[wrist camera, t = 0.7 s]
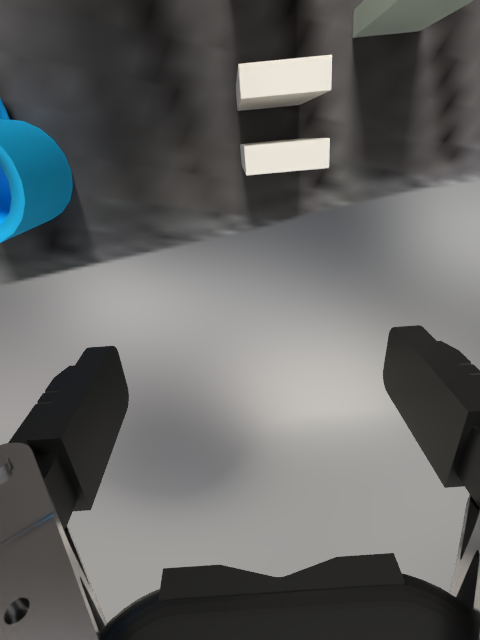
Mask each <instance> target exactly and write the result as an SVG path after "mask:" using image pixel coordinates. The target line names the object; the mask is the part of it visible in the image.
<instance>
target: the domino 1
mask: <svg viewBox="0 0 480 640" xmlns="http://www.w3.org/2000/svg"><path fill="white" fill-rule="evenodd" d="M331 77H332V55H323V56H313V57H303V58H293V59H283V60H273V61H262V62H252V63H242V64H238V72H237V80H236V99H237V111H243V110H253V109H264V108H274V107H284V106H295V105H301V104H303V103H305V102H307V101H309V100H311V99H313V98H315V97H318V96H320V95H322V94H324V93H326V92H328V91H330V90H331Z"/></svg>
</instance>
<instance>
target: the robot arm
mask: <svg viewBox="0 0 480 640" xmlns="http://www.w3.org/2000/svg"><path fill="white" fill-rule="evenodd" d="M383 379H384V385H385V388H386V391H387V393H388V395H389V396H390V398H391V400H392V401H393V403H394V404H395V406H396V408H397V409H398V411H399V413H400V414H401V416H402V417H403V419H404V421H405V422H406V424H407V426H408V428H409V429H410V431H411V432H412V434H413V436H414V437H415V439H416V441H417V442H418V444H419V446H420V447H421V449H422V451H423V452H424V454H425V455H426V457H427V459H428V461H429V462H430V464H431V465H432V467H433V469H434V470H435V472H436V474H437V475H438V477H439V479H440V480H441V482H442V483H443V485H444V487H460V486H465V487H466V489H467V490H468V492H469V493H470V495H469V498H468V501H467V504H466V509H465V515H464V521H463V526H462V532H461V538H460V543H459V549H458V555H457V560H456V566H455V571H454V575H453V580H452V583H451V587H450V590H449V593H448V592H446V591H444V590H443V589H441V588H439V587H437V586H435V585H433V584H431V583H428V582H426V581H424V580H421V579H418V578H415V577H412V576H409V575H406V574H401V571H400V568H399V566H398V563H397V561H396V558H395V556H394V553H390V554H374V555H359V556H346V557H336V558H333V559H330V560H328V561H325V562H322V563H320V564H317V565H315V566H312V567H309V568H307V569H304V570H301V571H298V572H296V573H293V574H291V575H288V576H285V577H272V576H268V575H263V574H259V573H254V572H250V571H245V570H241V569H236V568H232V567H227V566H222V565H211V566H196V567H180V568H167V569H163V574H162V581H161V588H160V589H159V590H156V591H154V592H151V593H149V594H148V595H146V596H144V597H142V598H140V599H138V600H137V601H135V602H133V603H132V604H130V605H129V606H128V607H126V608H124V609H123V610H122V611H121V612H120V613H119V614H117V615H116V616H115V617H114V618H112V619H111V620H110V621H109V622H108V623H107V622H106V620H105V617H104V615H103V612H102V610H101V608H100V606H99V603H98V601H97V598H96V596H95V594H94V591H93V589H92V586H91V583H90V581H89V578H88V576H87V573H86V571H85V568H84V566H83V563H82V561H81V558H80V555H79V553H78V550H77V548H76V545H75V543H74V540H73V537H72V535H71V532H70V530H69V528H68V526H67V524H68V521H69V519H70V516H71V514H72V512H73V511H82V510H91V508H92V505H93V502H94V499H95V497H96V494H97V491H98V488H99V486H100V483H101V480H102V477H103V475H104V472H105V469H106V466H107V464H108V461H109V458H110V455H111V453H112V450H113V447H114V444H115V442H116V439H117V436H118V433H119V430H120V428H121V425H122V422H123V419H124V417H125V414H126V411H127V408H128V401H129V394H128V387H127V383H126V380H125V376H124V372H123V368H122V365H121V361H120V357H119V354H118V351H117V349H116V347H114V346H105V347H91V348H87V349H86V350H85V351H84V352H83V354H82V356H81V357H80V359H79V360H78V362H77V363H76V365H75V366H69V367H67V368H66V369H65V370H64V371H62V372H61V373H60V374H58V375H57V376H56V377H54V379H53V380H52V381H51V383H50V384H49V386H48V387H47V389H46V390H45V393H43V394H42V396H41V397H40V399H39V400H38V404H36V405H35V406H34V407H33V408H32V410H31V411H30V413H29V414H28V416H27V417H26V419H25V420H24V422H23V423H22V424H21V426H20V427H19V428H18V430H17V431H16V433H15V434H14V436H13V437H12V438H11V440H10V441H9V443H7V444H3V445H0V640H480V370H479V369H478V368H477V367H475V366H474V365H471V362H470V361H469V360H468V359H467V358H466V357H465V356H464V355H463V354H462V353H461V352H460V351H459V350H457V349H455V348H453V347H451V346H449V345H448V344H446V343H444V342H442V341H436V340H435V339H434V338H433V337H432V336H431V335H430V334H429V333H428V332H427V331H426V330H425V329H424V328H423V327H422V326H405V327H393V328H392V329H391V330H390V332H389V337H388V343H387V350H386V356H385V363H384V369H383Z"/></svg>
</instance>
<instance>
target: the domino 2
mask: <svg viewBox="0 0 480 640" xmlns="http://www.w3.org/2000/svg"><path fill="white" fill-rule="evenodd" d="M329 149H330V138H300V139H289V140H279V141H268V142H258V143H247V144H240V151H241V164H242V167H243V169H244V172H245V174H246V176H247V175H257V174H268V173H279V172H290V171H300V170H311V169H322V168H329Z"/></svg>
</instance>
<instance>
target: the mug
mask: <svg viewBox="0 0 480 640" xmlns="http://www.w3.org/2000/svg"><path fill="white" fill-rule="evenodd" d="M72 189H73V182H72V172H71V169H70V166H69V164H68V161H67V159H66V156H65V154H64V153H63V152H62V150H61V149H60V148H59V146H58V145H57V144H56V142H55V141H54V140H53V139H52V138H51V137H50V136H48V135H47V134H46V133H45V132H43V131H42V130H41V129H40V128H38V127H35V126H33V125H31V124H29V123H26V122H24V121H17V120H10V119H9V117H8V114H7V111H6V109H5V107H4V105H3V102H2V100H1V98H0V243H1V242H4V241H6V240H8V239H10V238H12V237H15V236H17V235H19V234H21V233H23V232H26V231H28V230H30V229H32V228H34V227H37V226H39V225H41V224H43V223H45V222H48V221H50V220H52V219H53V218H55V217H56V216H58V215H59V214H61V213H62V212H63V211H64V209H65V208H66V206H67V205H68V203H69V202H70V199H71V194H72Z"/></svg>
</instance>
